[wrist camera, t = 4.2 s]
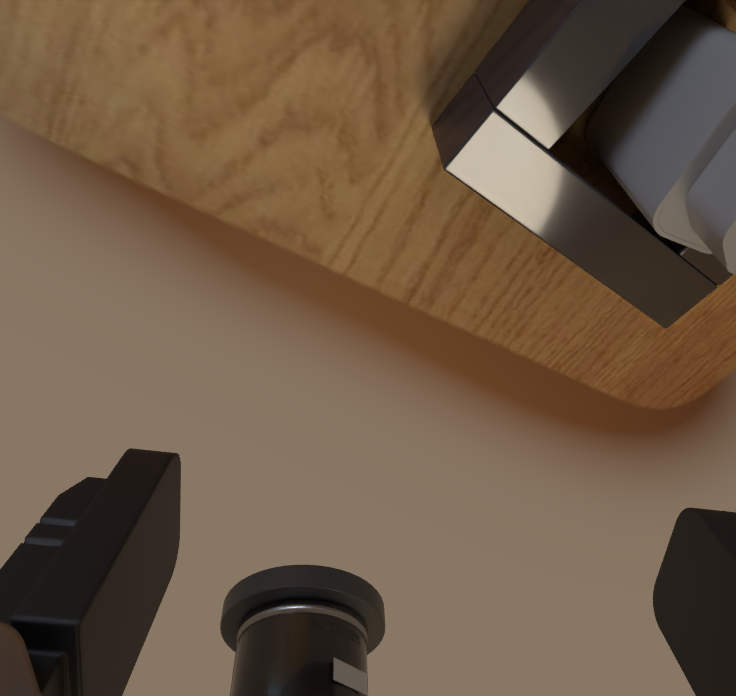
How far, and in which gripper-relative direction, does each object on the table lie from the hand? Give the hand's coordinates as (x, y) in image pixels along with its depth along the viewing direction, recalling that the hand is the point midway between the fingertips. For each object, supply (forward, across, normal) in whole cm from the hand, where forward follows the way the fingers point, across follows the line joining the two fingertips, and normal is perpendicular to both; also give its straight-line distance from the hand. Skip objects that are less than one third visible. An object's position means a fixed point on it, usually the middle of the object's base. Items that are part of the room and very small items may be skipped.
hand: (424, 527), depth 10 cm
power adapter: (+18, -9, -8) cm, 21 cm away
